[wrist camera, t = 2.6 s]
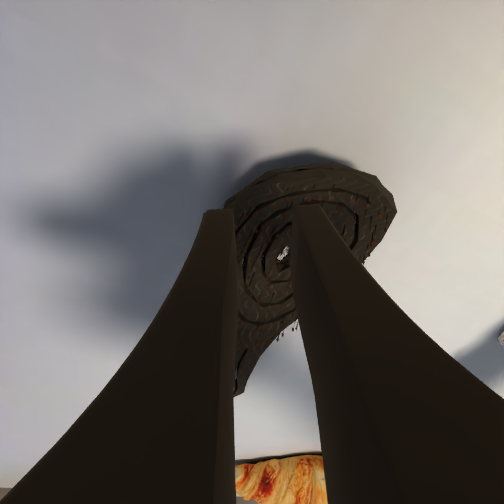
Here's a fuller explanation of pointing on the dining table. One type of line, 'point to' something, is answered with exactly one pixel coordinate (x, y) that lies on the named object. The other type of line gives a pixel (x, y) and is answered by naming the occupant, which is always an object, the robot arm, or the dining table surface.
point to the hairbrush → (279, 236)
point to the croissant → (283, 481)
